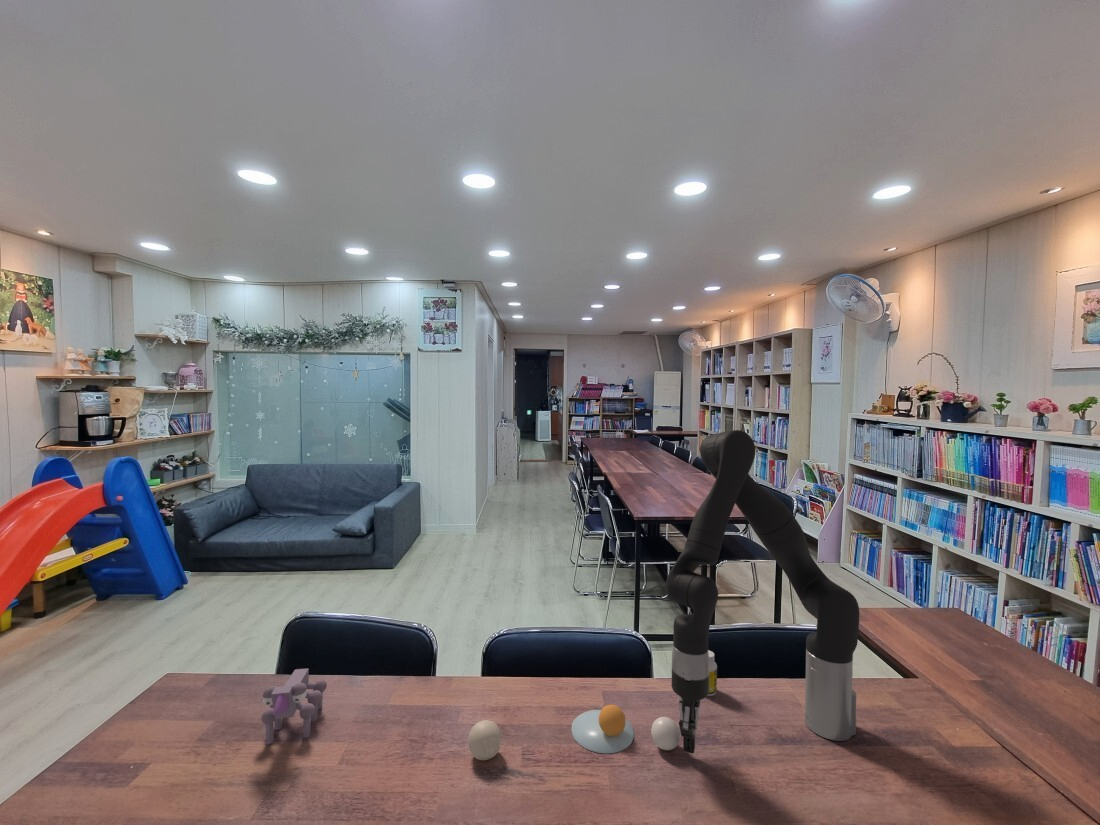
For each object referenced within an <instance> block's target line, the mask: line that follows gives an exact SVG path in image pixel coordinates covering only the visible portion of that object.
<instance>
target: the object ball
mask: <svg viewBox="0 0 1100 825" xmlns="http://www.w3.org/2000/svg"><path fill="white" fill-rule="evenodd" d="M600 710H601V711H600V714H599V725H600V728H601V729H602V731H603V732H604V733H605V734H606V735H608V736H613V737H614V736H618V735H620V734H621V733H622V732H623V730H624V728H625V724H626V720H627V718H626V716H625V713H624V712H623V710H622V708H620V707H619V706H618V705H615V704H606V705H605V706H604V707H602V708H601V709H600Z"/></svg>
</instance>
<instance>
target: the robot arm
mask: <svg viewBox="0 0 1100 825" xmlns="http://www.w3.org/2000/svg"><path fill="white" fill-rule="evenodd" d="M699 446H700V447H699V455H700V458H701V460H702V463H703V464H704V466H705V468H706V469H707V470H708V471H709V473H710V474H711V475H712V476H713V477H714V478H715V481H714V483H713V485H712V487H711V489H710V490H709V493H708V494H707V496H706V497H705V498H704V500H703V501H702V503H701V504H700V506H699V508H698V509H697V511H696V512H695V515H694V517H693V518H692V521H691V524H690V528H689V530H688V533H687V534H688V535H687V538H686V542H685V545H684V548H683V549H682V551H681V552H680V554H679V556H678V558H677V560H676V562H675V563H674V565H672V568H671V569H670V571H669V573H668V575H667V577H666V581H665V592H666V595H667V597H668V598H669V599H670V601H672V602H673V603H677V604H678V605H681V606H684V607H687V608H689V609H692V611H693V614H692V613H691V614H689V613H684V614H683V613H681V614H679V615H677V616H676V617H675V618H674V621H673V632H672V633H673V639H672V640H673V643H672V651H671V688H672V691H673V692H674V693H675V694H676V695H678V696H679V697H680V700H679V701H678V710H679V721H678V728H679V732H680V737H682V738H683V740H682V741H683V744H682V748H683V751H684V752H686V753H689V754H695V749H696V735H697V730H698V723H699V718H700V708H701V704H702V703H701V702H702V701H701V700H704V699H706V698H707V697H709V696H708V694H709V653H708V650H709V631H710V627H711V622H712V618H713V615H714V612H715V609H716V606H717V603H718V599H719V590H718V587H717V584H716V582H715V581H714V580H713V578H711V577H709V576H707V575H703V574H699V573H696V572H695V571H696V570H697V568H699V567H701V566H713V565H716V564H717V562H718V560H719V557H720V552H721V549H722V545H723V541H724V539H725V538H724V537H725V534H726V529H727V527H728V523H729V520H730V518H731V515H732V512H733V509H734V507H735V505H736V506H737V508H738V509H739V511H740V512H741V514H742V515H743V517H744V518H745V519H746V521H747V522H748V524H749V526H750V527H751V528H752V531H753V532H754V533H755V535H756V536H757V537H758V539H759V540H760V542H761V544H762V545H763V546H764V548H765V549H766V551H767V552H768V553H769V554H770V555H771V557H772V558H773V560H774V561H775V562H776V563H777V564H778V565H779V566H778V567H780V568H781V570H783V571H782V572H784V573H785V575H786V577H787V579H788V581H789V582H790V585H792V588H793V589H794V592H795V595H797V597H798V599H799V601H800V603H801V604H802V606H803V608H804V609H805V610H806V612H808V613H809V614H810V615H811V616H812V617H814V618H815V619H816V620H817V621H816V622H817V623H816V632H811V633H808V635H807V636H806V639H805V688H804V690H805V698H804V703H805V704H804V722H805V725H806V726H807V728H808V729H809V730H810V731H811V732H813V733H814V734H816V735H818V736H820V737H822V738H824V739H827V740H831V741H836V742H837V741H838V742H843V741H844V742H845V741H848V740H850V739H851V737H852V736H855V735H856V734H857V733H856V731H857V692H856V691H855V690H854V689H853V676H854V675H853V674H854V673H853V664H854V661H853V660H854V652H855V651H856V649H857V645H858V641H859V640H858V638H859V627H860V607H859V603H858V601H857V600H858V599H857V598H856V597H855V595H854V594H853V593H851V592H850V591H849V590H847V589H846V588H844V587H842V586H841V585H839V584H837V583H835V582H834V581H832V580H831V579H830V578H829V577H828V576H827V575H826V574H825V573H824V572H823V571H822V570H821V568H820V567H819V566H818V564H817V563H816V562H815V560H814V558H813V557H812V555H811V553H810V550H809V545H808V542H807V538H806V537H807V536H806V535H805V532H804V530H803V528H802V526H801V525H800V523H799V521H797V519H796V517H795V516H794V514H793V512H792V511H791V510H790V508H789V507H788V506H787V505H786V504H785V503H784V502H783V501H781V500H780V498H778V497H777V496H776V495H775V494H773V493H771V492H770V491H769V490H767V489H766V488H765V487H763V486H762V485H760V484H759V482H757V481H755V479H754V478H753V477H752V476H751V475H750V474H749V473H750V471H751V468H752V466H753V465H754V462H755V458H756V445H755V442H754V440H753V438H752V436H751V435H749V434H748V433H747V432H745V431H744V430H739V429H738V430H737V429H734V430H733V429H732V430H728V431H727V430H726V431H723V432H718V433H717V432H716V433H713V434H709V435H708V436H706V437H704V439H702V440H701V443H700V445H699Z"/></svg>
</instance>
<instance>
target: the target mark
mask: <svg viewBox="0 0 1100 825" xmlns="http://www.w3.org/2000/svg"><path fill="white" fill-rule="evenodd" d="M601 710H602V709H591V710H587V711H585V712H583V713H581V714H579V715H578V716H576V717H575V718H574V720H573V721H572V724H571V734H572V737H573V738H574V740H575V742H576V743H577V744H579V745H580V746H581V747H582V748H584V749H586V750H588V751H591V752H594V753H598V754H604V755H605V754H606V755H607V754H615V753H620V752H621V751H622V752H623V751H624V750H626V749H627V748H628V747H629V746H631V744H632V742H633V741H634V737H635V730H634V727H633V726H632V724H631V723H630V721H629V720H628V719H626V724H625V728H624V730H623V732H622V733H621V734H620V735H618V736H614V737H613V736H608V735H606V734H605V733H604V732H603V731H602V729H601V728H600V725H599V714H600V711H601Z"/></svg>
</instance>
